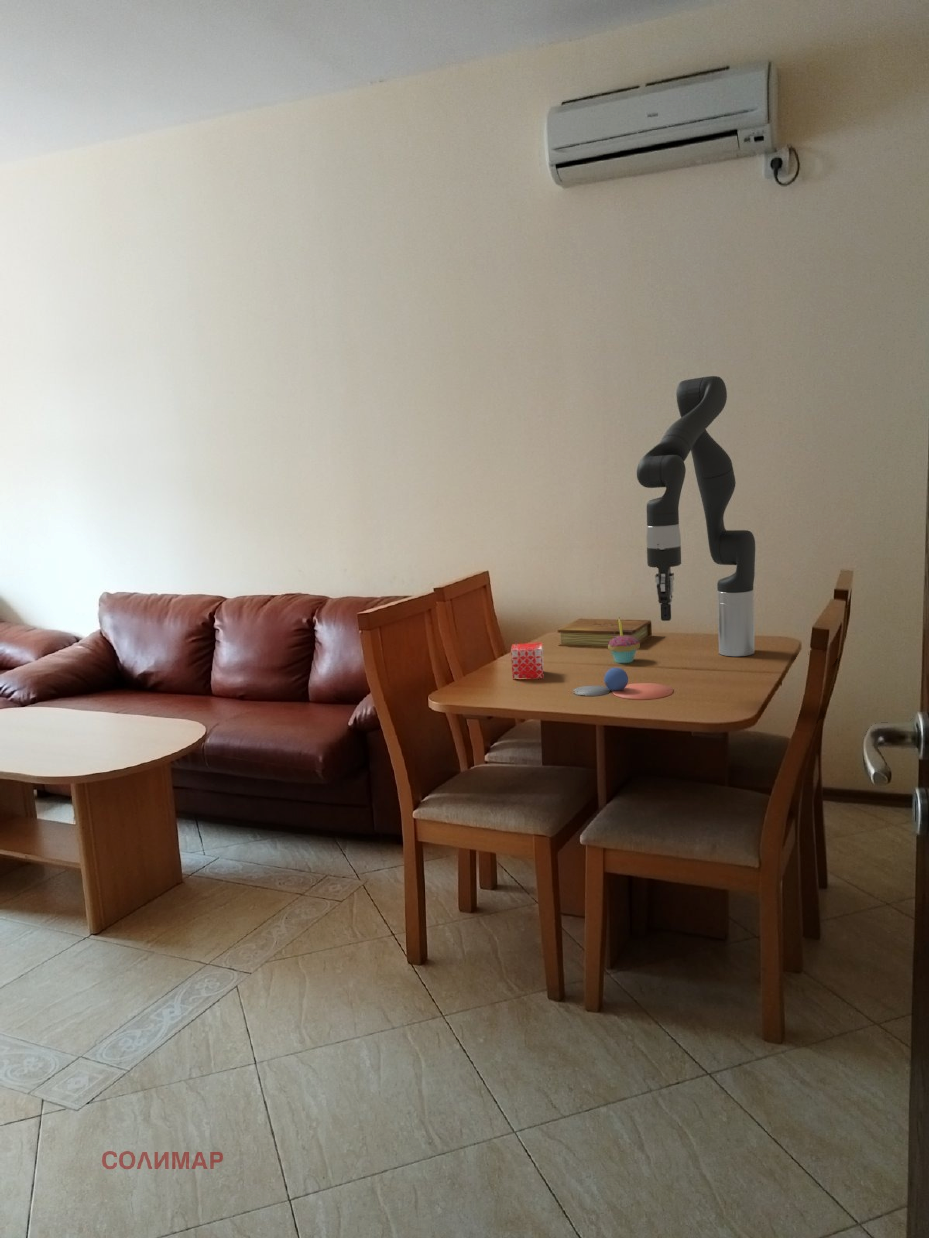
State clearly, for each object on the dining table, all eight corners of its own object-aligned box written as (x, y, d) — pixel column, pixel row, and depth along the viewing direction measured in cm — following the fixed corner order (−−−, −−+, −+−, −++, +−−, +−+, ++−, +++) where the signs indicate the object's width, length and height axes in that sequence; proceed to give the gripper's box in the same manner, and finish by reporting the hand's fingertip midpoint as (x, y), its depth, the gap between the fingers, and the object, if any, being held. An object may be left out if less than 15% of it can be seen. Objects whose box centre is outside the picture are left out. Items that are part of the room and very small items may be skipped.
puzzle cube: (514, 673, 233) (512, 644, 232) (543, 671, 232) (542, 642, 231) (512, 680, 225) (510, 650, 224) (543, 679, 224) (541, 649, 223)
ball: (605, 670, 211) (624, 661, 208) (616, 690, 211) (635, 682, 208) (596, 676, 207) (615, 667, 203) (607, 697, 206) (626, 688, 203)
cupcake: (603, 660, 239) (601, 617, 237) (630, 656, 242) (629, 613, 240) (618, 666, 231) (616, 622, 229) (646, 662, 234) (644, 618, 232)
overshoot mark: (576, 686, 214) (576, 685, 214) (613, 686, 212) (613, 685, 212) (569, 695, 206) (569, 695, 206) (607, 696, 203) (607, 695, 203)
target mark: (616, 683, 214) (616, 682, 214) (675, 684, 210) (675, 683, 210) (608, 699, 201) (608, 698, 201) (670, 699, 197) (670, 699, 196)
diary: (651, 638, 267) (651, 619, 266) (632, 651, 251) (631, 631, 250) (581, 635, 278) (580, 617, 277) (558, 647, 262) (557, 628, 261)
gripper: (649, 542, 205) (652, 615, 208) (643, 549, 192) (646, 626, 195) (682, 541, 203) (684, 614, 206) (678, 547, 190) (681, 625, 193)
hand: (666, 620), depth 200 cm, fingers closed
